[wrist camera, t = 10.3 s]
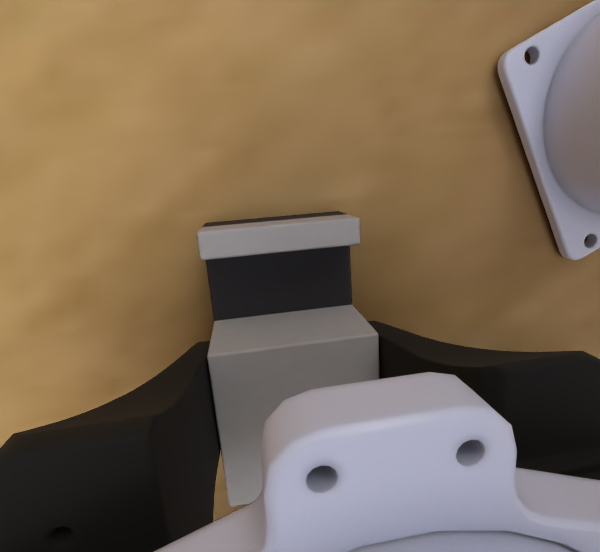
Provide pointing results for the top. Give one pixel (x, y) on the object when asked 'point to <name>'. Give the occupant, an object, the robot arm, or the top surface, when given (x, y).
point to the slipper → (279, 326)
